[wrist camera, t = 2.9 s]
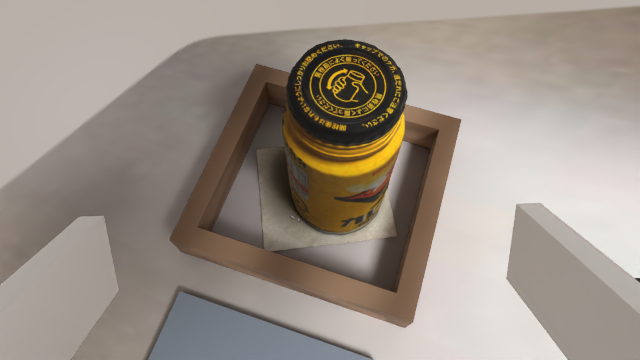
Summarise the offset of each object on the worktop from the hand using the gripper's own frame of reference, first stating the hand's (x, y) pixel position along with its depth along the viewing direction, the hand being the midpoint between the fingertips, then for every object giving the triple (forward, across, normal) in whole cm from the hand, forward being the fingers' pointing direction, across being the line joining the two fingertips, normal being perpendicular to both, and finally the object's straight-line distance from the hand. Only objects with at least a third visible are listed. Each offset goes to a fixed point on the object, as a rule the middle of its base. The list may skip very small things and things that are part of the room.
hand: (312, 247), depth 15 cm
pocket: (+15, +1, -4) cm, 16 cm away
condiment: (+15, +1, -4) cm, 16 cm away
